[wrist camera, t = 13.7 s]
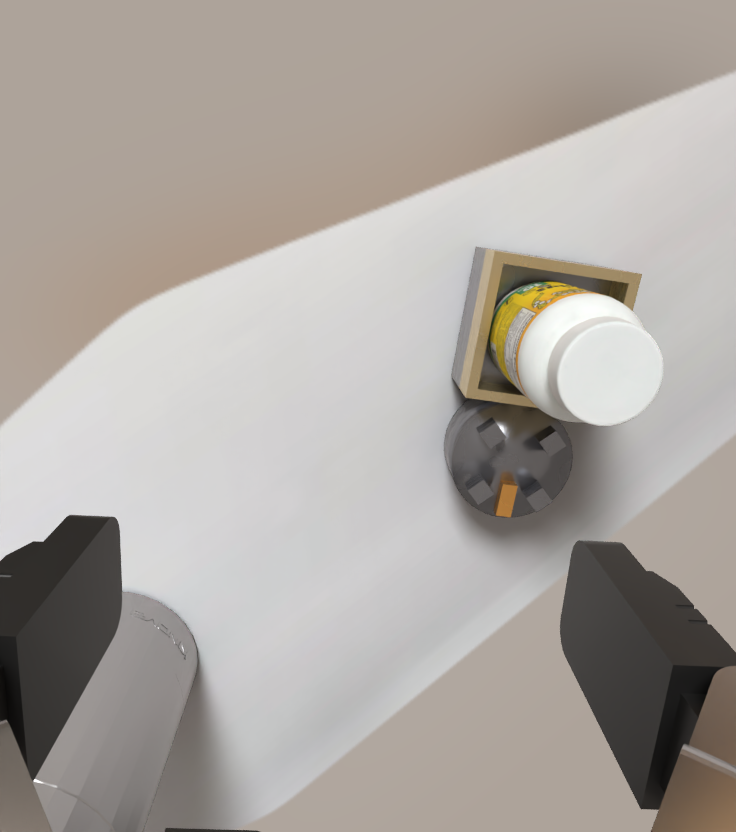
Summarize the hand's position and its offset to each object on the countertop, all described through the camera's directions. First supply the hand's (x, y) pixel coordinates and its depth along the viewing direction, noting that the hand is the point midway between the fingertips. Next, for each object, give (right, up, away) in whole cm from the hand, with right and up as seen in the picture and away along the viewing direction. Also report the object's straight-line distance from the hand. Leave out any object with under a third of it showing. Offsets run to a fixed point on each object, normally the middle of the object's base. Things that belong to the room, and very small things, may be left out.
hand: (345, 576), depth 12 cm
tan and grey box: (+9, +5, +26) cm, 28 cm away
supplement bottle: (+9, +7, +22) cm, 25 cm away
